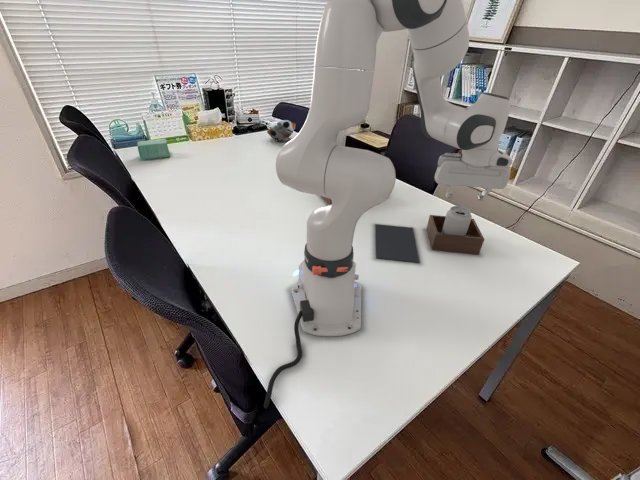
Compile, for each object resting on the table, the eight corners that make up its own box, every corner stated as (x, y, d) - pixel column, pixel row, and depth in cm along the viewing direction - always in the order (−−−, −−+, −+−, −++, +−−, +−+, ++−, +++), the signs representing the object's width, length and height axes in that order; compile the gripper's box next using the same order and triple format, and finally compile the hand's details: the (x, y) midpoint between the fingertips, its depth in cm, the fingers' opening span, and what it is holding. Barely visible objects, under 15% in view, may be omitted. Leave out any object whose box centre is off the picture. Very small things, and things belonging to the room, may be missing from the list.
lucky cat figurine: (281, 134, 204) (291, 114, 196) (291, 146, 200) (302, 126, 192) (262, 131, 193) (273, 110, 185) (273, 144, 188) (284, 123, 181)
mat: (419, 263, 99) (419, 262, 99) (376, 258, 100) (376, 257, 100) (412, 228, 116) (412, 227, 115) (375, 225, 117) (375, 224, 116)
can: (439, 245, 107) (448, 213, 101) (439, 233, 113) (448, 202, 107) (463, 249, 106) (474, 217, 99) (462, 237, 112) (472, 206, 105)
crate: (478, 254, 104) (484, 239, 100) (431, 250, 105) (435, 234, 102) (468, 233, 114) (473, 218, 111) (426, 229, 115) (429, 214, 112)
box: (140, 155, 165) (136, 140, 161) (169, 152, 171) (166, 138, 166) (141, 160, 160) (136, 145, 156) (170, 157, 165) (167, 142, 161)
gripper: (442, 156, 91) (431, 200, 99) (518, 161, 89) (501, 206, 97) (438, 148, 96) (428, 191, 104) (510, 153, 95) (494, 196, 102)
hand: (464, 198), depth 101 cm, fingers open, 8 cm apart
